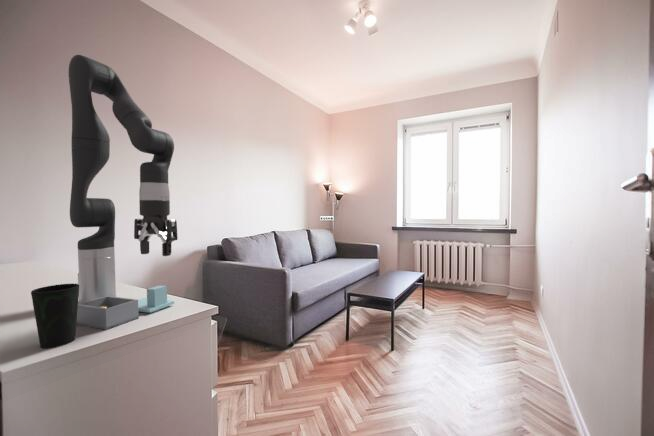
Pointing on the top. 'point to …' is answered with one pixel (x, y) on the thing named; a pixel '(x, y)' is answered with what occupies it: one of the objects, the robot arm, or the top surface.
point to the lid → (154, 300)
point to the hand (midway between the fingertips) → (155, 254)
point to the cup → (56, 314)
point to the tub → (107, 312)
